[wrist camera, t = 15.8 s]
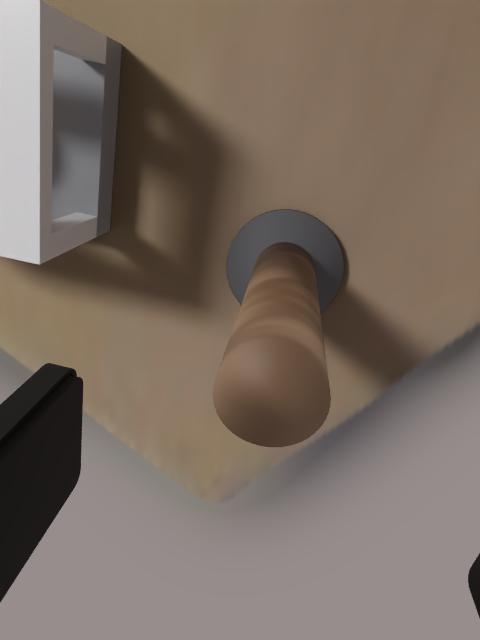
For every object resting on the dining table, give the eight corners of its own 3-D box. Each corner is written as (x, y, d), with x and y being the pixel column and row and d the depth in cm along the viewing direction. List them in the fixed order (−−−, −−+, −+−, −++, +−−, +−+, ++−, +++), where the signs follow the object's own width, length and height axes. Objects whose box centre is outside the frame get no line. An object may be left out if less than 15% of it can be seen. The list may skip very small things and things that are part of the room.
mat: (357, 223, 25) (358, 224, 25) (326, 331, 28) (326, 334, 27) (238, 198, 25) (237, 199, 25) (218, 308, 28) (217, 310, 28)
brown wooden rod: (321, 249, 25) (344, 361, 13) (306, 305, 27) (313, 458, 14) (261, 236, 26) (223, 334, 13) (249, 293, 27) (204, 432, 14)
